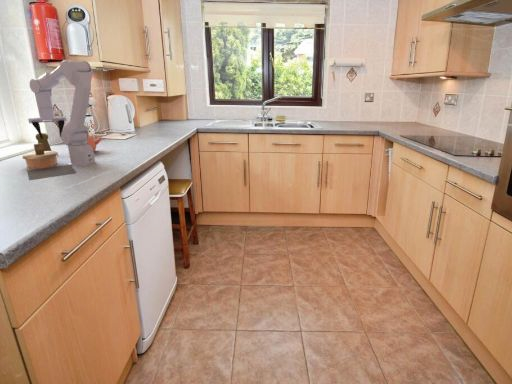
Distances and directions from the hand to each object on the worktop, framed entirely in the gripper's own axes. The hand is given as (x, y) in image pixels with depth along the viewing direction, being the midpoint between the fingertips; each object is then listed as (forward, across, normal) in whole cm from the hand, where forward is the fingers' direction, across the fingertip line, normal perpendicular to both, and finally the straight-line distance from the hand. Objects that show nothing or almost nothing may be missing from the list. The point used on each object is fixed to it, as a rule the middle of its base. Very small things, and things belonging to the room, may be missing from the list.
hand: (51, 138), depth 149 cm
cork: (+11, +3, -14) cm, 18 cm away
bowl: (+10, +6, +8) cm, 15 cm away
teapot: (+11, -14, -11) cm, 21 cm away
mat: (+10, +4, +23) cm, 26 cm away
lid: (+6, +6, +9) cm, 12 cm away
